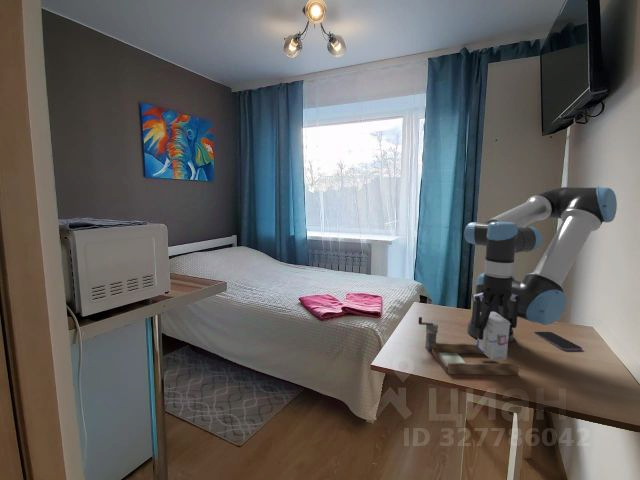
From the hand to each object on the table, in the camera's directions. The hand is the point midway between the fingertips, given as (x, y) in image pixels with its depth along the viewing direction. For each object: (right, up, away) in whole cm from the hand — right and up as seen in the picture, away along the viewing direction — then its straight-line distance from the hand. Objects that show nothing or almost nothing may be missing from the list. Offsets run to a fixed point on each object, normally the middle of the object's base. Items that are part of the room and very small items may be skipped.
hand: (491, 348), depth 103 cm
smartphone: (+32, -4, +18) cm, 37 cm away
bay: (-8, -4, +2) cm, 9 cm away
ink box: (0, -2, 0) cm, 2 cm away
